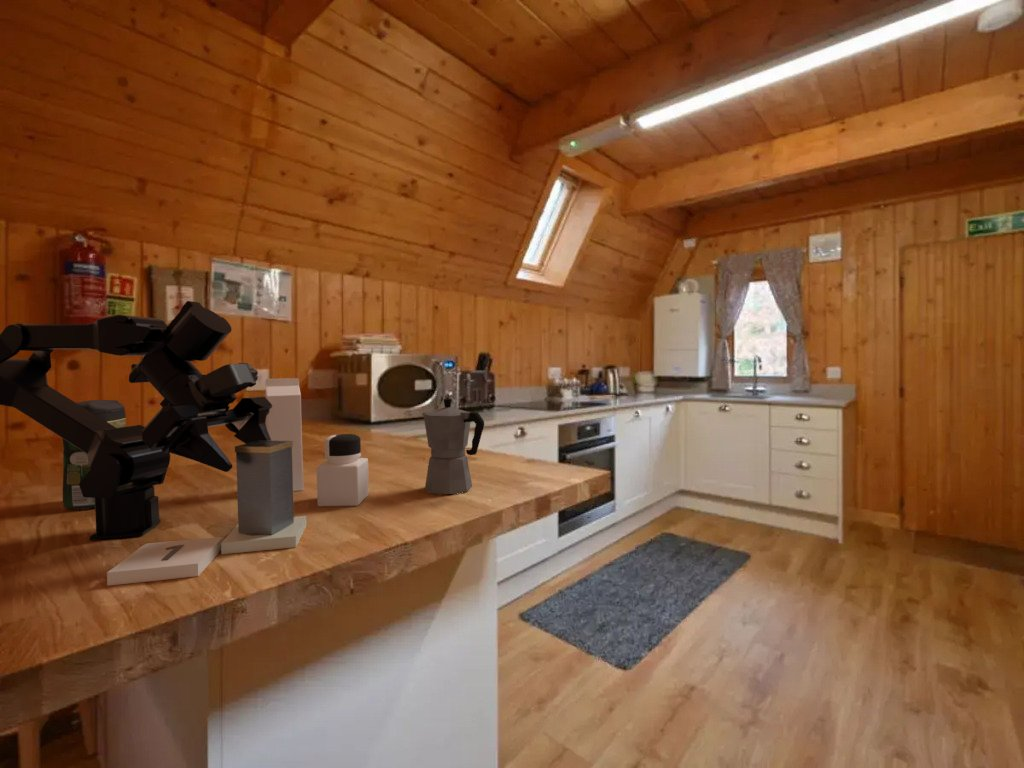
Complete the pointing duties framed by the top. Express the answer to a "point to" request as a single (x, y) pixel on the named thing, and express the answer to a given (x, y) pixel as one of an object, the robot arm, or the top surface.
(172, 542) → the tile
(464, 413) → the coffeepot
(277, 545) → the tile
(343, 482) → the medicine bottle
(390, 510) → the top surface
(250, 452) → the tea tin
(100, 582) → the top surface
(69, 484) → the coffee jar
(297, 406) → the milk
